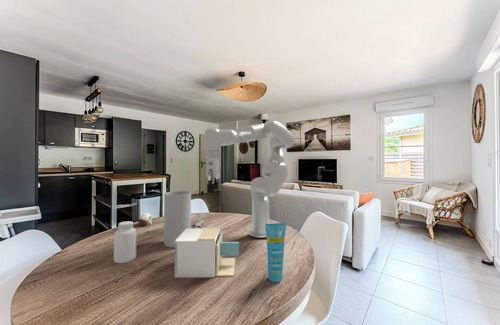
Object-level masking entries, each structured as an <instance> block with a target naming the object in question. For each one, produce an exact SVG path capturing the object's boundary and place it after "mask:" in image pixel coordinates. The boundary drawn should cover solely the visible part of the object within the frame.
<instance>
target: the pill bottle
mask: <svg viewBox="0 0 500 325" xmlns="http://www.w3.org/2000/svg"><path fill="white" fill-rule="evenodd" d="M117 225H118V226H117V230H116V231H114V234H113V262H114V263H116V264H126V263H130V262H132V261H134V260H135V259H136V257H137V230H136V228H135V227H134V222H133V221H129V220H128V221H121V222H119V223H117Z"/></svg>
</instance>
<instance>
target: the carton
mask: <svg viewBox="0 0 500 325" xmlns="http://www.w3.org/2000/svg"><path fill="white" fill-rule="evenodd" d="M220 234H221V228H220V227H204V228H203V227H197V228H191V229H185V231H184V232H183V233H182V234H181V235H180V236H179V237H178V238H177V239H176V240H175V248H174V278H216V277H217V278H218V277H219V278H220V277H223V278H224V277H225V278H226V277H234V276H235V266H236V257H222V258H221V262H220V239H219V237H220Z"/></svg>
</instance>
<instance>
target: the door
mask: <svg viewBox="0 0 500 325" xmlns="http://www.w3.org/2000/svg"><path fill="white" fill-rule="evenodd" d="M219 239H220V262H221V258H223V256H239V255H240V241H223V232H220V237H219Z"/></svg>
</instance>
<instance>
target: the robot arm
mask: <svg viewBox="0 0 500 325" xmlns="http://www.w3.org/2000/svg"><path fill="white" fill-rule="evenodd" d="M268 138H269V147H270V155H269V157H268V159H267V160H266V162H265V163H264V165H263V167H262V169H261V175H262V176H261V177H255V178H253V179H252V180H251V183H250V187H249V188H250V192H251V194H250V195H251V229H250V230H249V232H248V234H249V236H251V237H254V238H259V239H261V238H267V237H266V228H265V223H266V224H270V200H269V197H274V196H276V195H277V194H278V193H279V192H280V190H281V188H282V187H283V184H284V183H285V181H286V179H287V177H288V173H289V169H288V166H287V164H286V163H285V162H284V161H285V154H284V150H283V149H289V148H292V147H294V145H295V141H296V139H295V136H294V134H293V133H292V132H291V131H290V130H289V129H287V128H286V127H285V126H284V125H283V124H281V123H280V122H279V121H276V120H273V121H269V122H264V123H263V122H262V123H258V124H257V123H256V124H251V125H245V126H241V127H238V128H235V129H218V128H207V129H205V131H204V158H205V159H206V167H205V168H206V169H205V170H206V175H205V176H206V179H207V181H206V183H207V184H206V193H208V194H209V193H210V194H211V193H215V191H217V190H219V179H220V178H221V173H220V172H221V171H220V170H221V168H220V166H221V165H220V159H221V158H222V156H221V154H222V150H221V147H223V146H224V147H225V146H231V145H234V144H239V143H249V142H254V141H257V140H258V141H260V140H264V139H268Z"/></svg>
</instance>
